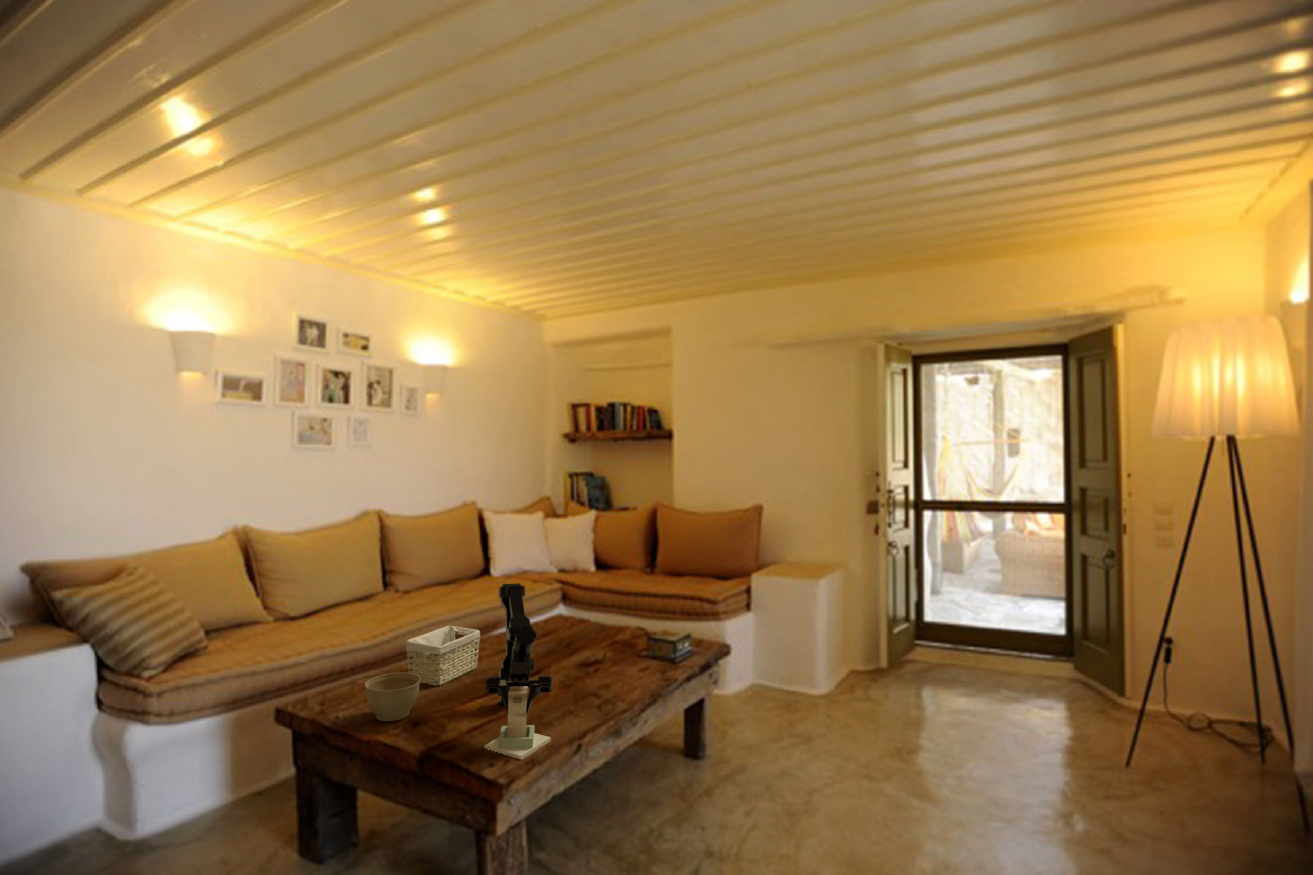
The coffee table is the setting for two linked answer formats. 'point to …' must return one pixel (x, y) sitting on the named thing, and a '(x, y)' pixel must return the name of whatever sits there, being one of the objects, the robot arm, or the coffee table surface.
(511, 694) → the birch cabinet block
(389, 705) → the planter bowl
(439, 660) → the storage basket
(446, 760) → the coffee table surface
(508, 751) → the board
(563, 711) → the coffee table surface
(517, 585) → the robot arm
